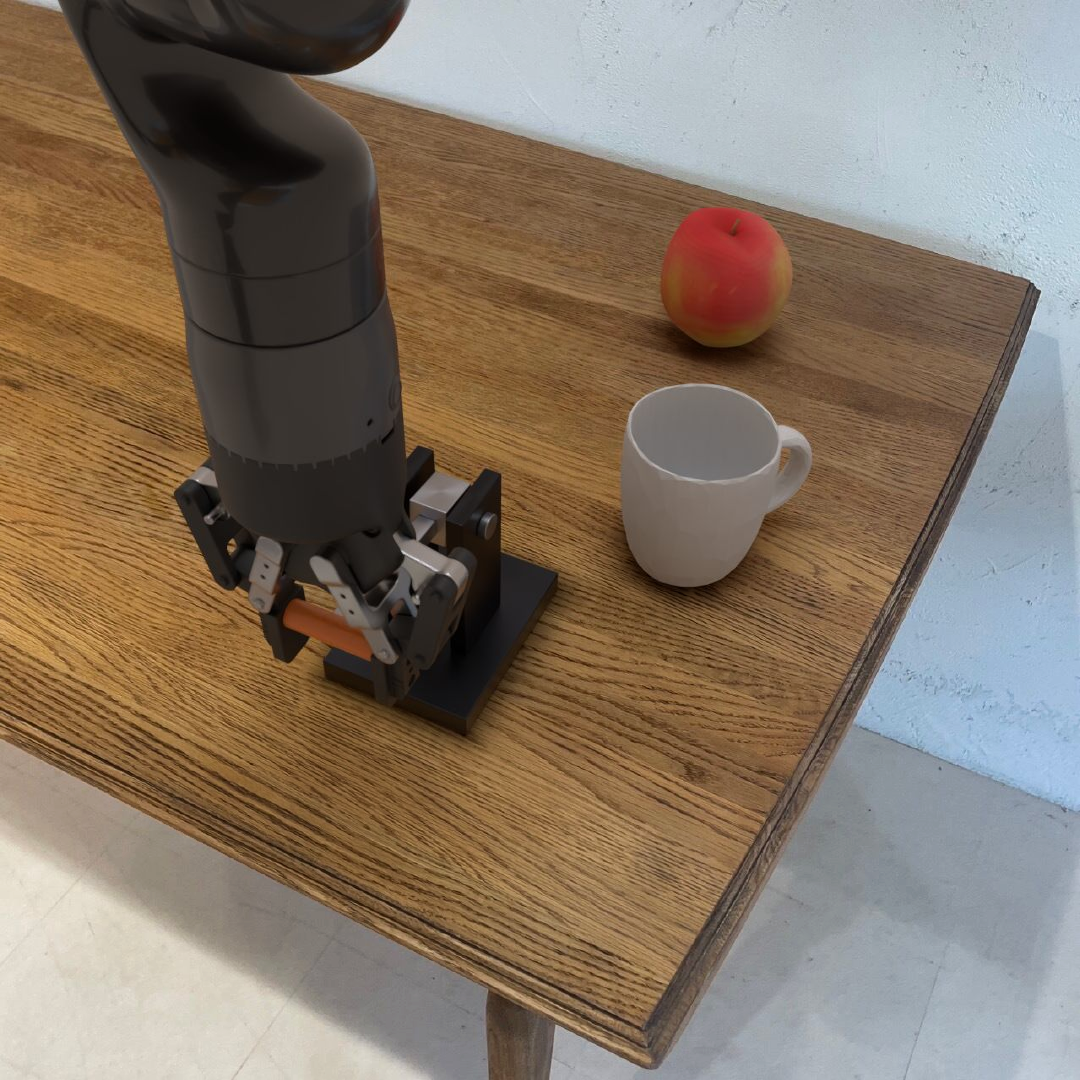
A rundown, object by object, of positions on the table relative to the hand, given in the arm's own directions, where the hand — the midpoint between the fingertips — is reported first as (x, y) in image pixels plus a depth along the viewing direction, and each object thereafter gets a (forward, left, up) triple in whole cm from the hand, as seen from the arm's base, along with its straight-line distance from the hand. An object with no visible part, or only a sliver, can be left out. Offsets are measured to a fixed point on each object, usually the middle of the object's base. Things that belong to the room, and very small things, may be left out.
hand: (343, 669), depth 55 cm
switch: (+5, +2, +1) cm, 5 cm away
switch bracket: (+9, +3, -8) cm, 13 cm away
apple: (+44, +11, -8) cm, 46 cm away
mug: (+26, -3, -8) cm, 28 cm away
